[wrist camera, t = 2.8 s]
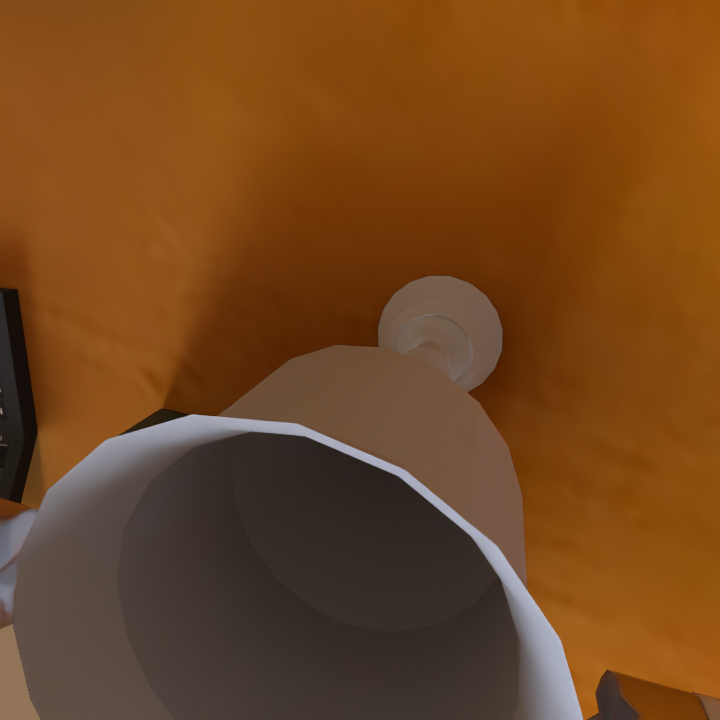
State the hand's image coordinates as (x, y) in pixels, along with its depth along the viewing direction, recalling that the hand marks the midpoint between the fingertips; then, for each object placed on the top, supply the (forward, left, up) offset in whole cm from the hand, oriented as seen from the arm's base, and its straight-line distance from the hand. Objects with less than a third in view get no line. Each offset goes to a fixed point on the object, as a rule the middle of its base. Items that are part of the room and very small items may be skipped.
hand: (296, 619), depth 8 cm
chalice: (0, 0, -17) cm, 17 cm away
